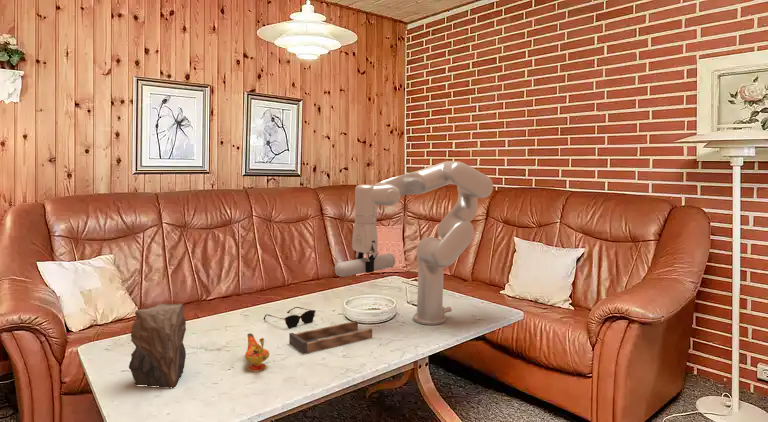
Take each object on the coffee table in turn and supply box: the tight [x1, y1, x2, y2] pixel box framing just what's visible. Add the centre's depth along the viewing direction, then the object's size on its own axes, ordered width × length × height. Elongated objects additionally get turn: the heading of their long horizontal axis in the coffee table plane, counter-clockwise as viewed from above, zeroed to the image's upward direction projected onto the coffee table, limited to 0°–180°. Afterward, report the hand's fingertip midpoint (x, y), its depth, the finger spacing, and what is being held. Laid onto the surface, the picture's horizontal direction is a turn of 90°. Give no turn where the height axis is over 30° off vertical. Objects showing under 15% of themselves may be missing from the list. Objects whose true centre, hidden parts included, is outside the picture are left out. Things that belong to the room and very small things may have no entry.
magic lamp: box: [244, 332, 270, 372], centre depth 149 cm, size 7×18×11 cm, turn 27°
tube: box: [334, 252, 396, 278], centre depth 180 cm, size 5×5×25 cm
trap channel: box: [288, 320, 373, 355], centre depth 169 cm, size 26×10×4 cm, turn 125°
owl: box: [128, 302, 187, 389], centre depth 139 cm, size 13×13×20 cm
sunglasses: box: [263, 306, 316, 330], centre depth 189 cm, size 14×16×5 cm
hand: (365, 270), depth 180 cm, fingers closed on tube, 5 cm apart
